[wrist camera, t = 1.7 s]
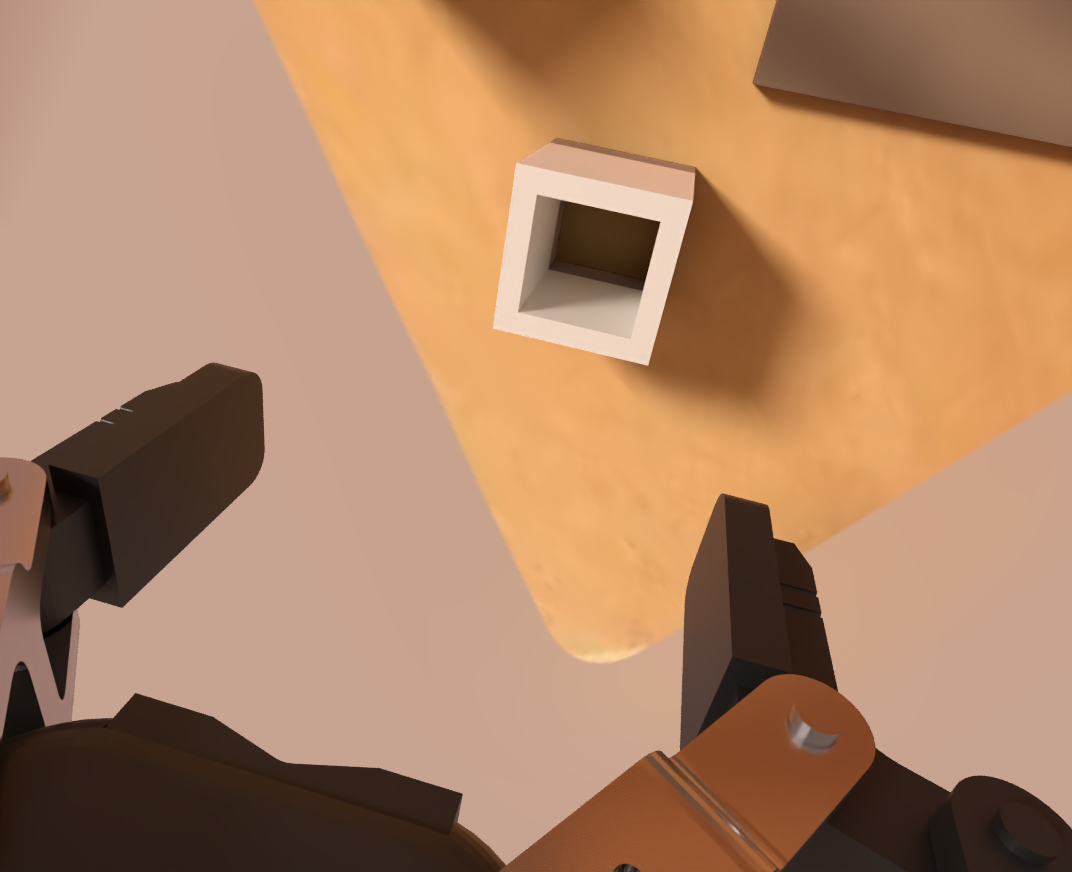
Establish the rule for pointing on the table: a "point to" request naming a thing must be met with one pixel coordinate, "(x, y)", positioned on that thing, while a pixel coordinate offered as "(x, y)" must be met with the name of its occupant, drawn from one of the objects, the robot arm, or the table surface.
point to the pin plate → (931, 60)
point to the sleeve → (576, 291)
